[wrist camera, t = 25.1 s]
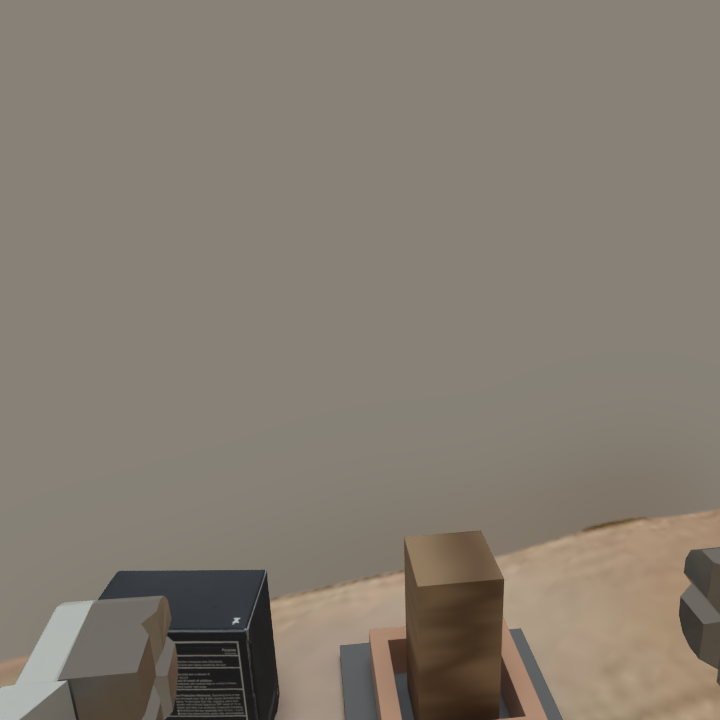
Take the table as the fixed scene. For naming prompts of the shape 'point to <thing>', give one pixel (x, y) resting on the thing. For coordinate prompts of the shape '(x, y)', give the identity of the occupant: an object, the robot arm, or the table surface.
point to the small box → (214, 639)
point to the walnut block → (453, 627)
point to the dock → (389, 679)
